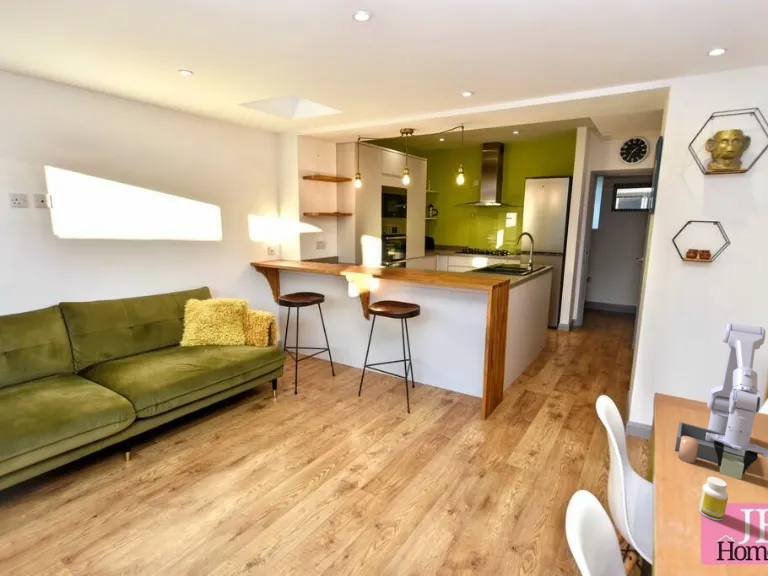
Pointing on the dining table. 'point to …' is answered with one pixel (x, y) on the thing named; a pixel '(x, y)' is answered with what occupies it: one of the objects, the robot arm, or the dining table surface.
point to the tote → (704, 442)
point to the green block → (732, 465)
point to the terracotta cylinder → (688, 449)
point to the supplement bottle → (713, 499)
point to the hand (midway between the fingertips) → (730, 468)
